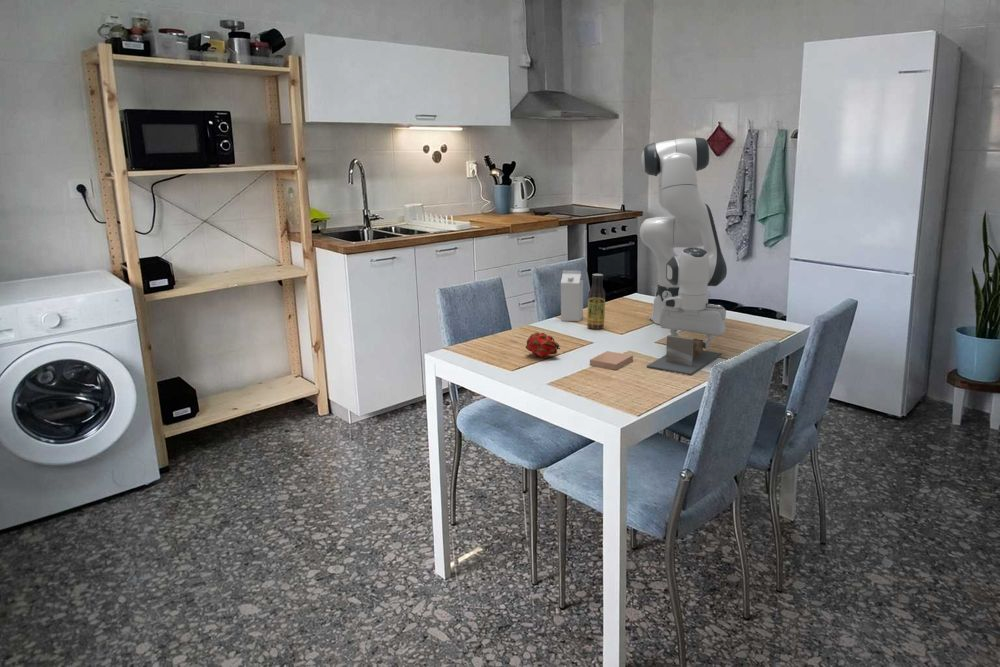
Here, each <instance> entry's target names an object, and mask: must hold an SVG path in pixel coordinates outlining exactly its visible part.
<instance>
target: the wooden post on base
mask: <svg viewBox="0 0 1000 667" xmlns="http://www.w3.org/2000/svg"><path fill="white" fill-rule="evenodd" d="M703 342H704V339H699V338H690V337H688V338H687V337H681V336H678V337H676V336H672V335H669V334H668V335H667V336H666V351H665V353H666V354H665V355H666V361H667V362H673V363H679V364H685V365H690V366H691V365H692V362H693V358H694V357H696V356H697V355H699V354H700V353H702V352H703V350H704V348H703V347H702V346H703Z"/></svg>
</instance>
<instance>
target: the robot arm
mask: <svg viewBox="0 0 1000 667" xmlns="http://www.w3.org/2000/svg"><path fill="white" fill-rule="evenodd" d="M711 157H712V152H711V146H710V145H709V141H708V140H706V139H705V138H703V137H695V138H687V137H686V138H674V139H672V140H664V141H660V142H657V143H656V142H652V143H648V144H646V145H645V146H644V147H643V151H642V153H641V158H640V160H641V167H642V168H643V170H644V172H645V173H646V174H647V175H649V176H654V177H658V179H657V181H658V186H657V187H658V202H659V204H660V206H661V207H662V209H664V210H665V211H667V212H668V214H670V215H671V216H654V217H650V218H646V219H644V220H643V222H642V224H641V225H640V228H639V237H640V240H641V241H642V243H643V244H644V245H645V246H646V247H648V248H649V249H650V251H652V253H653V255H654V256H655V258H656V261H657V266H658V267H657V268H658V284H657V286H656V294H657V296H655V297H654V299H653V305H652V315H650V316H649V317H648V319H649V320H650V319H651V321H652V322H653V323H654V324H656V325H659V326H660V328H661V329H666V330H670V334H671V336H676V337H679V336H678V334H677V332H678V331H681V332H687V333H694V334H695V333H696V334H702V335H706V337H705V338H707V339H706V340H705V341H704V340H703V346H702V347H703V349H709V347H710V343H711V341H712V339H713V338H714V336H715V337H716V336H717V337H719V336H722V335H724V334H725V333H726V317H727V310H726V308H725V307H724V306H722V305H721V304H713V303H709V290H708V287H717V286H719V285H720V284H721V283H722V282H723V281H724V280H725V279H726V277H727V273H728V272H727V271H728V270H727V269H728V267H727V263H726V261H725V258H724V255H723V252H722V250H721V245H720V241H719V237H718V234H717V233H718V231H717V227H716V224H715V220H714V217H713V216H714V215H713V214H712V210H711V208H710V206H709V204H707V203H705V202H704V201H703V199H702V198H701V196H700V193H699V189H698V180H697V173H696V172H698V171H701V170H704V169H706V168H707V167H708V166H709V163H710V161H711ZM701 247H703V248H701ZM674 248H682V251H681V253H680V254H679V255H677V253H676V252H675V250H674ZM684 248H685V249H684Z"/></svg>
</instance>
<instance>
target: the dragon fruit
mask: <svg viewBox="0 0 1000 667" xmlns="http://www.w3.org/2000/svg"><path fill="white" fill-rule="evenodd" d="M559 344H560V343H558V342H557V341H555V338H554V337H553V336H550V335H547V334H546V333H544V332H541V333H540V332H537V331H536V332H534V333H532V334H530V336H529V337H528V339H527V340H526V346H525V348H526V350H527V351H528V352H531V353H532V356H533V357H534V358H536V357H537V356H538V357H541V358H544V357H547V358H548V359H552V356H549V355H557V353H558V350H561V346H560V345H559ZM544 359H545V358H544Z"/></svg>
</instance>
